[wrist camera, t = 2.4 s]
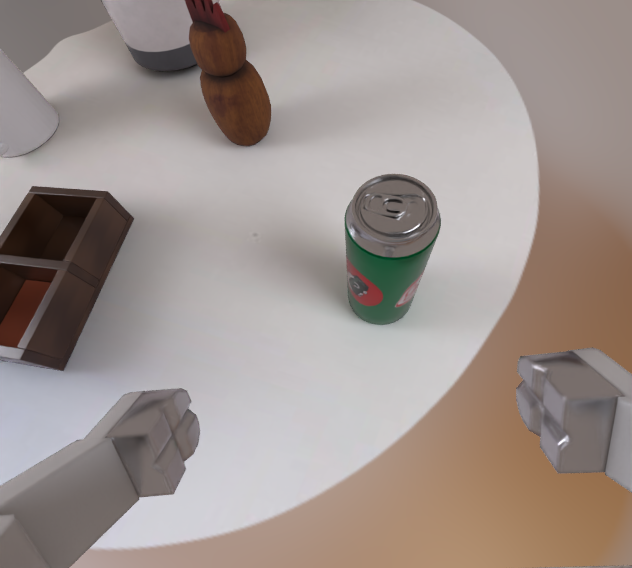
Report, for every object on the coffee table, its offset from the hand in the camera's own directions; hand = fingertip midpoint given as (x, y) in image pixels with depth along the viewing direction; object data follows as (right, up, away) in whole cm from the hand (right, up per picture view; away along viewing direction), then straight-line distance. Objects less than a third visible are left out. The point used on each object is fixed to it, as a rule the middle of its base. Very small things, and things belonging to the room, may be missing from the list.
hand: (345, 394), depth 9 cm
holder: (-24, +3, +24) cm, 34 cm away
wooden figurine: (-8, +19, +30) cm, 36 cm away
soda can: (+4, +1, +20) cm, 20 cm away
